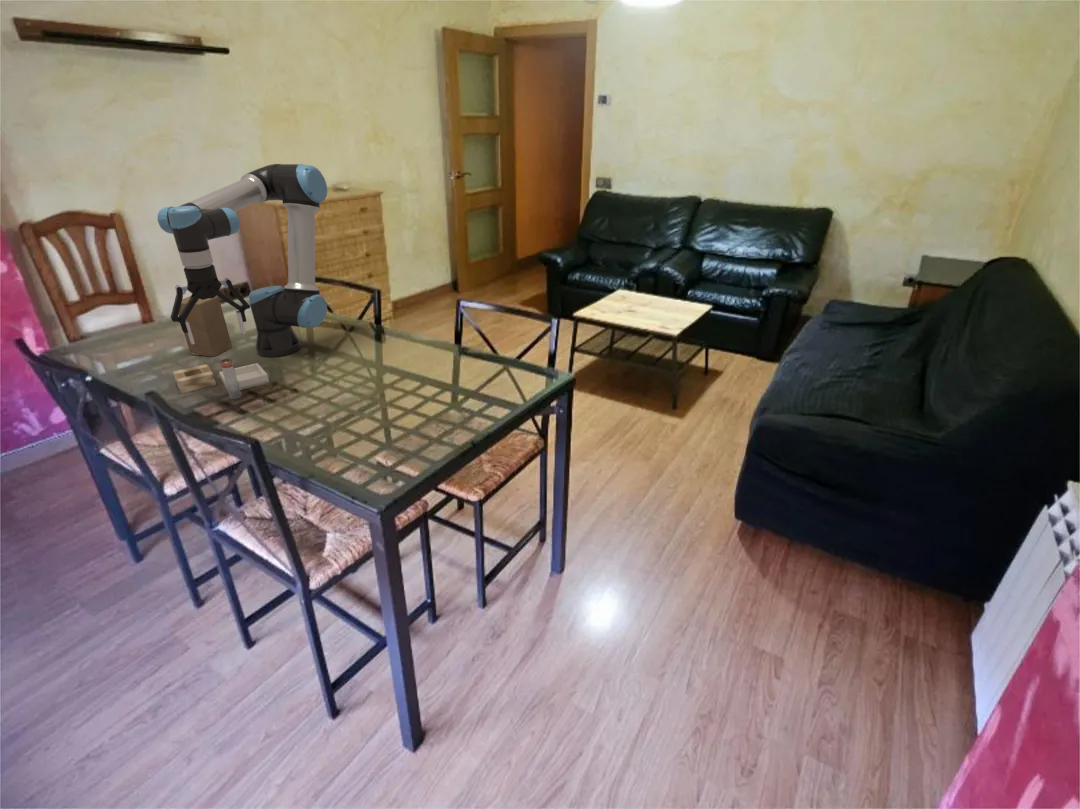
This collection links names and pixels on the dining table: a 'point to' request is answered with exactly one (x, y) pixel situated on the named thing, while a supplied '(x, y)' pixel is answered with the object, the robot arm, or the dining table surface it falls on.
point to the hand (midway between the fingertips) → (218, 337)
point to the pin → (230, 378)
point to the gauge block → (194, 378)
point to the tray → (248, 376)
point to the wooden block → (207, 327)
